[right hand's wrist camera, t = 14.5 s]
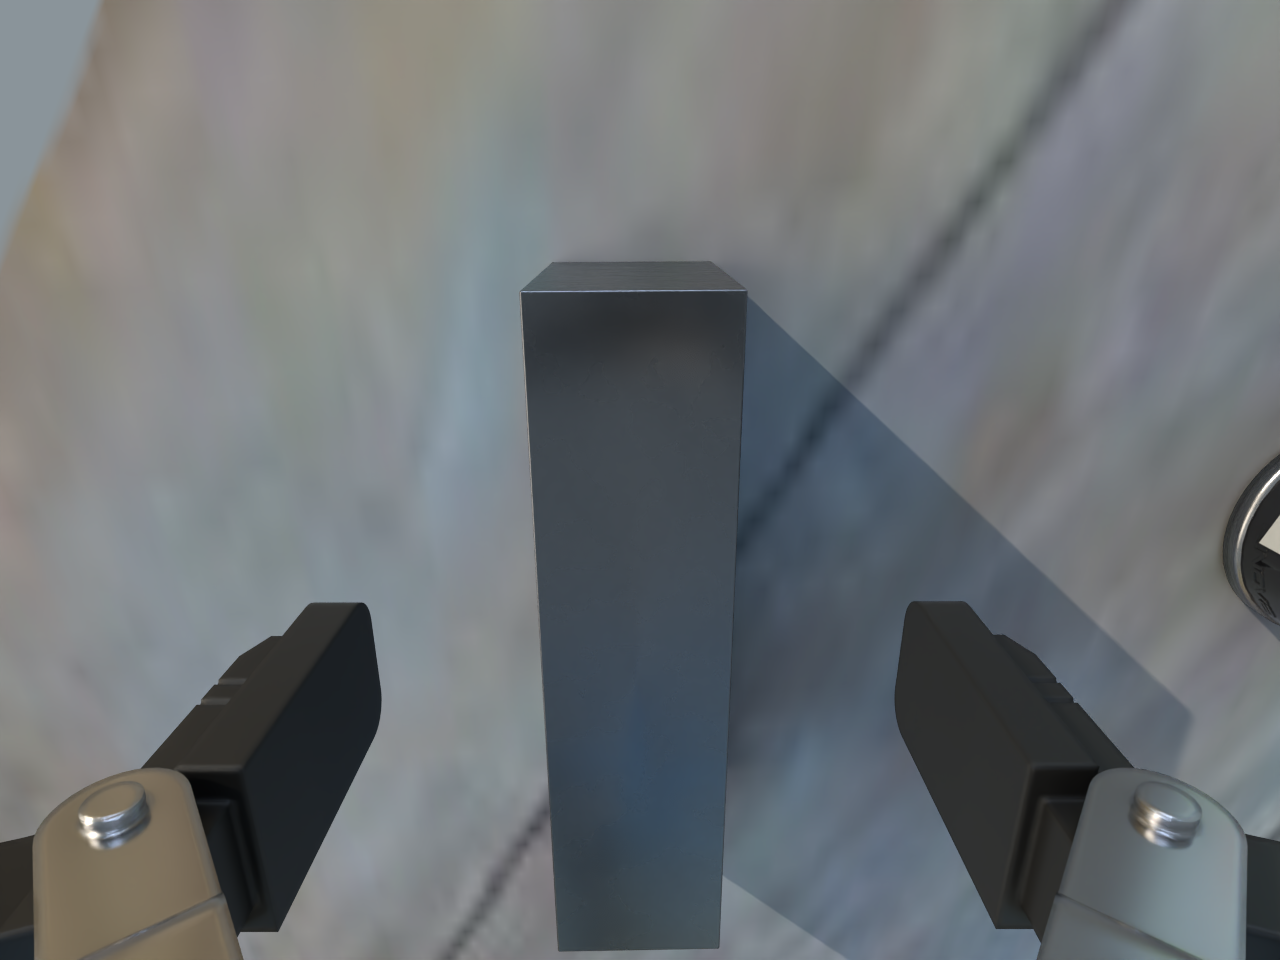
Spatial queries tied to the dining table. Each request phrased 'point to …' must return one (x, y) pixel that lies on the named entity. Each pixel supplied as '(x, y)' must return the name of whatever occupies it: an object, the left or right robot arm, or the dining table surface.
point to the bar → (635, 588)
